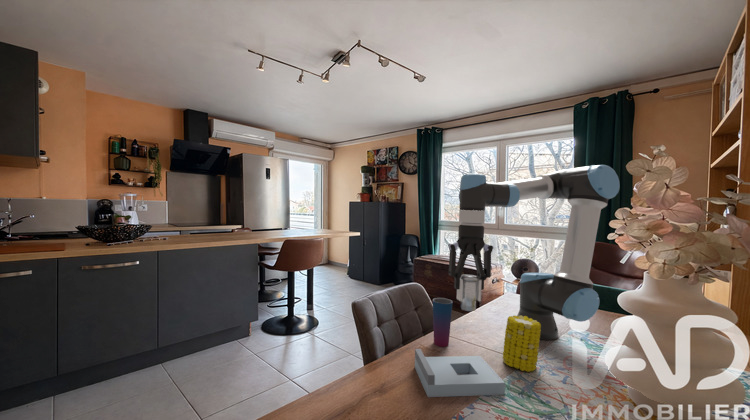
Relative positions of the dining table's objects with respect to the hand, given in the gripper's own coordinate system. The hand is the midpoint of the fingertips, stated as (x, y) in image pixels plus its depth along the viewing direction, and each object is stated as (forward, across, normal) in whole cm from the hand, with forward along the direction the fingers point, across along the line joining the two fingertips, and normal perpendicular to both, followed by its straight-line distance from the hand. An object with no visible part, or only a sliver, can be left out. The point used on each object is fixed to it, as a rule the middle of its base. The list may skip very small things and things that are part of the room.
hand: (468, 299), depth 92 cm
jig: (+19, +7, +10) cm, 23 cm away
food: (+19, -16, +2) cm, 25 cm away
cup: (+19, +4, -12) cm, 23 cm away
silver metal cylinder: (+3, 0, 0) cm, 3 cm away
